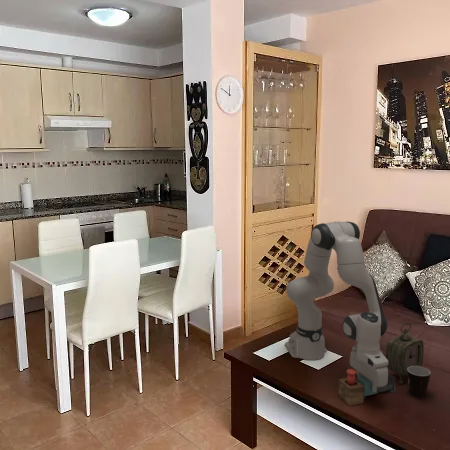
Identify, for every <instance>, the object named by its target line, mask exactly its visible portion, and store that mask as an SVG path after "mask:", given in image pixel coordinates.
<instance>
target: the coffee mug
mask: <svg viewBox="0 0 450 450" xmlns="http://www.w3.org/2000/svg"><path fill="white" fill-rule="evenodd" d="M407 372H408V376H407V382H408V393H409V395H410V396H412V397H413V398H417V399H424V398H426V397H427V393H428V387H429V382H430V378H431V377H430V376H431V371H430V369H428V368H427V367H424V366H422V367H421V366H410V367H408V368H407Z"/></svg>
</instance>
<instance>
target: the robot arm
mask: <svg viewBox="0 0 450 450" xmlns="http://www.w3.org/2000/svg"><path fill="white" fill-rule="evenodd" d="M360 237H361V231H360V227H359V226H358V224H356V223H355V222H352V221H332V222H326V223H324V222H322V223H318V224H316V225H314V226H313V227H312V229H311V233H310V237H309V241H308V244H307V246H306V252H305V256H304V261H303V265H304V266H305V268H306V270H308V271H309V273H308V275H306V276H302V277H297V278H295V279H293V280H290V281H289V282H288V283H287V285H286V287H285V288H286V289H285V291H286V295H287V297H288V299H289V300H290V301H292V302H293V303H294V305H295V306H296V309H297V321H298V323H296V325H295V326H296V330H295V331H294V332H292V333H290V335H289V339H288V341H286V342H284V347H285V348H286V350H287V351H288V353H289V355H290V356H291V357H292V358H295V359H296V358H297V359H302V360H307V361H315V360H321V359H323V358H324V357H325V355H326V353H327V352H328V349H327V348H326V346H325V345H326V344H325V343H326V342H325V336H324V335H323V333H324V332H323V329H324V328H323V325H322V314H323V313H322V310H321V309H320V308H319V306H316V305H315V299H317V298H322V297H325V296H327V295H329V294H330V293H332V292H333V291H334V289H335V288H334V287H335V282H334V280H333V278H332V276H331V275H330V274H329V264H330V259H331V255H332V251H333V250H334V252H335V253H336V265H337V272H338V273H337V274H338V275H339V276H338V277H339V278H340V279H341V280H342V281H343V282H344V283H346V284H348V285H349V286H353V287H356V288H359V289H361V290H362V291H363V293H364V295H365V299H366V302H367V307H368V311H363V312H360V313H357V314H351V315H346V316H345V318H344V319H343V321H342V331H343V334H344V335H345V336H346V337H348V338H349V339H351V340H353V341H356V342H357V343H356V344H355V345H353V346H352V349H351V352H350V355H349V364H350V367H352V369H354V370H356V375H357V377H360V376H365V377H366V378H368V379H369V380H370V381H372V384H373V386H371V387H370V388H371V389H370V390H371V391H373V392H376V389H377V386H378V387H382V386H385V385H387V383H388V382H389V369H388V367H387V365H388V360H387V359H386V355H384V354H383V352H382V350H381V345H380V340H381V338H382V337H383V336H384V335H385V333H386V332H387V330H388V320H387V318H386V316H385V313H384V310H383V306H382V302H381V299H380V295H379V292H378V286H377V284H376V280H375V278H374V276H373V275H372V274H371V273H369V272H368V270H367V268H366V262H365V256H364V255H365V254H364V250H363V247H362V243H361V241H360Z"/></svg>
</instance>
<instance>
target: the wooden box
mask: <svg viewBox="0 0 450 450" xmlns="http://www.w3.org/2000/svg"><path fill="white" fill-rule="evenodd" d="M363 395H364V386H363V385H362V384H360V383H359V382H358V381H357V379H355V385H353V386H349V385H348V384H347V377H344V378H340V379H338V396H339V398H341V399H342V400H343V401H344V402H345V403H347V404H348V406H349V407H350V406H355V405H359V404H363V403H364V399H363Z"/></svg>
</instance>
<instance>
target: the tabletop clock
mask: <svg viewBox="0 0 450 450" xmlns="http://www.w3.org/2000/svg"><path fill="white" fill-rule="evenodd" d="M407 325H409V328H408V329H406V328H405V329H404V330H402V329H403V327H404V326H407ZM411 328H412V323H411V322H405V323H404V322H403V324H402V325H401V326H400V329H399V330H400V332H401V333H400V334H399V335H398V336H395V337H392V338H391V339H389V340H388V341H387V342H386V347H385V357H386V359H387V360H388V365H387V369H388V371H389V370H390V371H391V372H394V373H396V375H397V377H399V379H398V383H399V384H402V383H403V380H402V376H403V377H408V372H407V368H408V367H410V366H421V367H423V362H424V361H423V360H424V355H425V354H424V347H425V346H424V340H421V339H418V338H416V337H413V336H412V335H411V334H410V333H409V331H410V330H411Z"/></svg>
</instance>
